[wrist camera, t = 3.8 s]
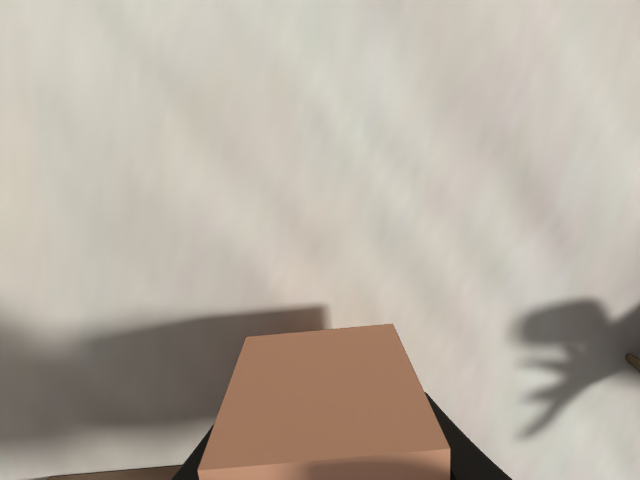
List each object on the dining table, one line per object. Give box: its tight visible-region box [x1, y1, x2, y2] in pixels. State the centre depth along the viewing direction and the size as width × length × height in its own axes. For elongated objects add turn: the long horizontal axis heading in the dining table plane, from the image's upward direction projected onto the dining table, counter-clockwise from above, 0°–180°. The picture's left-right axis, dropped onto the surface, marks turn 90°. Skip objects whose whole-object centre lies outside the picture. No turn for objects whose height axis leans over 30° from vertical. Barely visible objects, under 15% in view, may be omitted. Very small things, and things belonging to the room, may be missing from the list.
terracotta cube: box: [197, 324, 450, 480], centre depth 10 cm, size 5×5×5 cm
